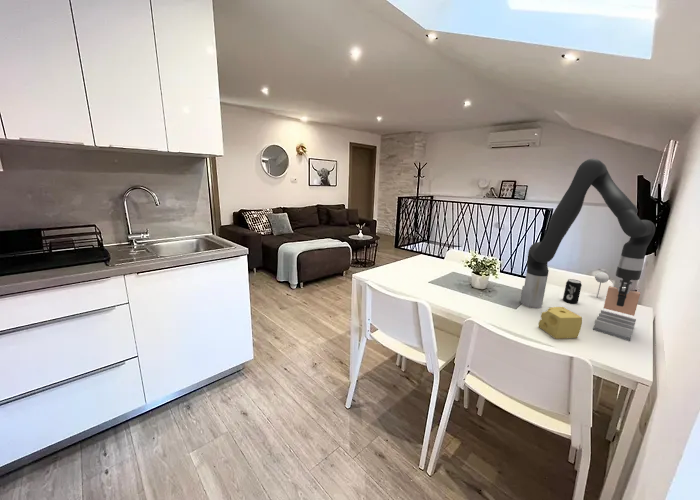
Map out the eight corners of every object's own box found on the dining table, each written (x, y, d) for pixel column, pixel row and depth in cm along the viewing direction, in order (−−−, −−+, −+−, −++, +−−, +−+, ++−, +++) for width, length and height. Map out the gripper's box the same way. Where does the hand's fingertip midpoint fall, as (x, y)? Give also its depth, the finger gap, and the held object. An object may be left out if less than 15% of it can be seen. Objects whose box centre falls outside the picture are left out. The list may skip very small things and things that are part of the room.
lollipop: (600, 300, 157) (606, 274, 154) (588, 296, 162) (593, 271, 159) (606, 298, 160) (612, 273, 156) (593, 294, 165) (599, 270, 161)
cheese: (537, 327, 129) (541, 306, 126) (559, 326, 130) (564, 306, 127) (555, 339, 119) (560, 317, 116) (579, 338, 119) (584, 317, 117)
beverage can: (580, 304, 152) (585, 283, 149) (566, 303, 153) (570, 282, 150) (573, 299, 158) (578, 279, 155) (560, 298, 160) (564, 278, 157)
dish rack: (630, 341, 118) (632, 331, 117) (592, 329, 127) (595, 320, 126) (633, 327, 129) (636, 318, 128) (599, 317, 138) (601, 309, 137)
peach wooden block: (634, 315, 122) (640, 294, 119) (603, 308, 129) (608, 287, 126) (634, 314, 123) (640, 292, 121) (604, 306, 130) (609, 286, 128)
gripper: (641, 272, 114) (630, 312, 118) (643, 265, 123) (633, 302, 127) (615, 268, 119) (606, 306, 123) (619, 262, 128) (610, 297, 133)
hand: (620, 304), depth 125 cm, fingers closed on peach wooden block, 2 cm apart
